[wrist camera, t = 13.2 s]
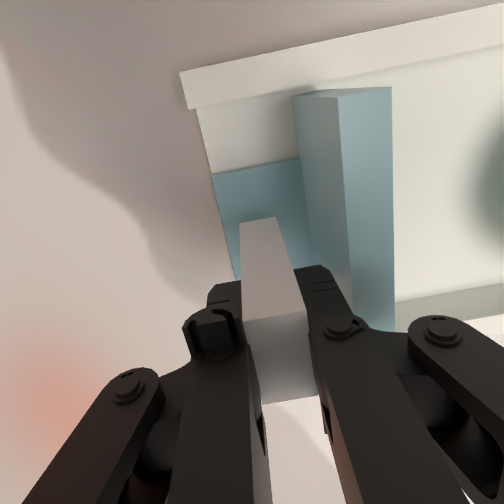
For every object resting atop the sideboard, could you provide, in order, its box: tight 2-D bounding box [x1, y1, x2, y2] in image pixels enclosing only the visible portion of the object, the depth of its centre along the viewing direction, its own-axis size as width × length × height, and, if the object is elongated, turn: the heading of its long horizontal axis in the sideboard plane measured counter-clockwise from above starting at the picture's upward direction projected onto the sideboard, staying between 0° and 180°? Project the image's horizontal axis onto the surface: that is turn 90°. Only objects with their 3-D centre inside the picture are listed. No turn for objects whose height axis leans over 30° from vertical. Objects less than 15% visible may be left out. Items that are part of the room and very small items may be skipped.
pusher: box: [211, 86, 395, 332], centre depth 13 cm, size 11×5×7 cm, turn 11°
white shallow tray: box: [179, 2, 504, 336], centre depth 15 cm, size 14×25×3 cm, turn 101°
